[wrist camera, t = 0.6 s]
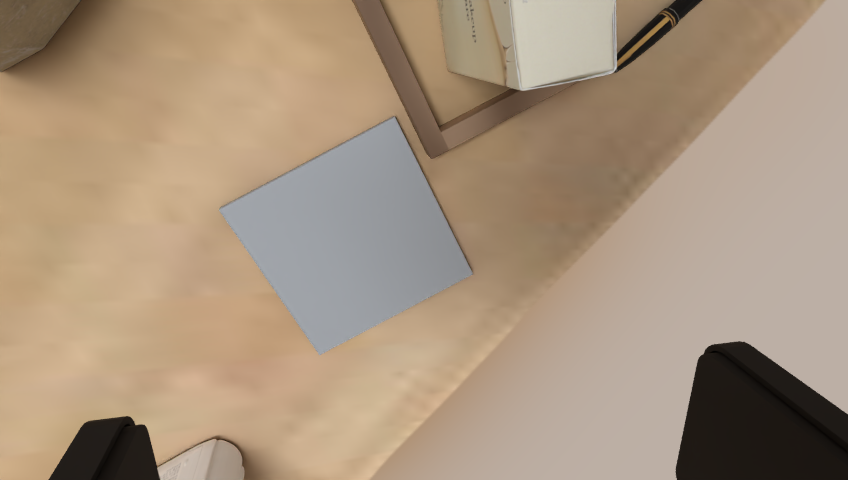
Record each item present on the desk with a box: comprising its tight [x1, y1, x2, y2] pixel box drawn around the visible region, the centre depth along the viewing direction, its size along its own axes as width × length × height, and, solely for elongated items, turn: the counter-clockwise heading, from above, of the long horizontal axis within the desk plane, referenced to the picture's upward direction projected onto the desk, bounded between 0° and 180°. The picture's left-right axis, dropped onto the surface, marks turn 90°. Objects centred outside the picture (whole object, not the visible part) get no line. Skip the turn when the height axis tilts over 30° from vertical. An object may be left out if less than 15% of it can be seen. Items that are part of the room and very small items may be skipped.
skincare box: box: [437, 0, 617, 91], centre depth 25 cm, size 6×4×12 cm
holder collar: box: [352, 0, 579, 159], centre depth 30 cm, size 12×12×2 cm
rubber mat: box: [219, 116, 473, 355], centre depth 34 cm, size 12×12×1 cm
